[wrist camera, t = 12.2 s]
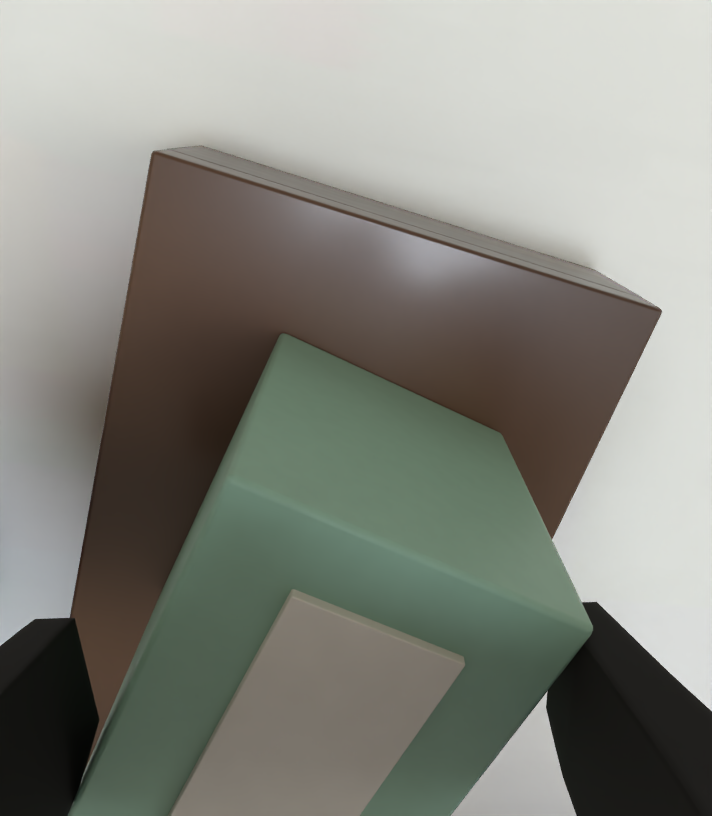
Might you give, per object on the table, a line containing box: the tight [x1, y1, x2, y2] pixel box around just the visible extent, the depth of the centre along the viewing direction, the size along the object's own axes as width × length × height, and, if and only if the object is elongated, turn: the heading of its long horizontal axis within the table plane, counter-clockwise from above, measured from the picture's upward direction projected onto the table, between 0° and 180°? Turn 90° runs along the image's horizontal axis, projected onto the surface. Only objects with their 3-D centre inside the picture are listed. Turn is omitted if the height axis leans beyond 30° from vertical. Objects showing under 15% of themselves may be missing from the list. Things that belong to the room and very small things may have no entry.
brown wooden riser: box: [70, 146, 662, 769], centre depth 17 cm, size 16×10×4 cm, turn 163°
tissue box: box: [68, 333, 593, 816], centre depth 12 cm, size 5×7×6 cm
